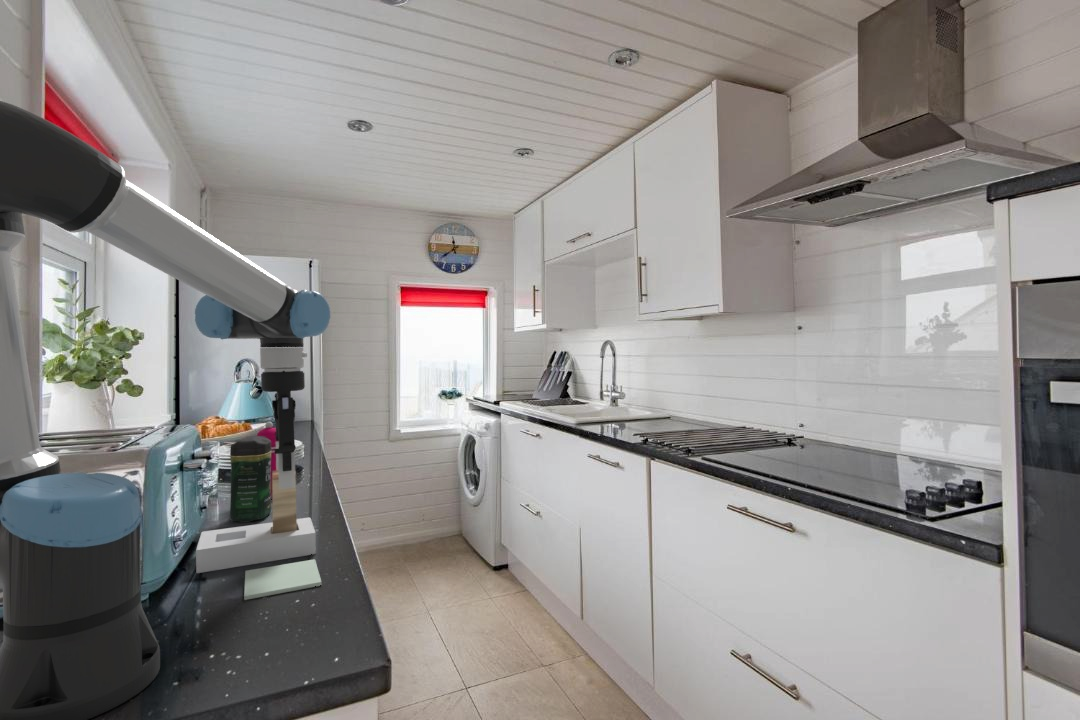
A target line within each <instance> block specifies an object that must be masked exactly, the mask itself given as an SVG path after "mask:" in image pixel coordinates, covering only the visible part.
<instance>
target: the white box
mask: <svg viewBox="0 0 1080 720" xmlns="http://www.w3.org/2000/svg"><path fill="white" fill-rule="evenodd" d="M312 521H313V520H312V519H311V517H303V518H297V531H290V532H283V533H276V534H273V521H272V522H265V523H257V524H251V525H244V526H243V525H242V526H236V527H235V526H234V527H228V528H227V527H226V528H220V529H213V530H204V531H201V533H200V537H199V539H198V543H197V546H196V550H195V557H196V559H195V565H196V568H195V570H196V574H200V573H201V574H202V573H206V572H214V571H220V570H226V569H232V568H236V567H237V568H238V567H244V566H250V565H256V564H262V563H268V562H275V561H280V560H287V559H292V558H299V557H305V556H306V557H307V556H310V555H311V554H312V555H316V554H317V553H316V552H317V550H316V548H317V545H316V539H317V537H316V530H315V527H314V524H313V522H312Z"/></svg>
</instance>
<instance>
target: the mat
mask: <svg viewBox="0 0 1080 720" xmlns="http://www.w3.org/2000/svg"><path fill="white" fill-rule="evenodd" d="M244 571H245V573H244V592H243V593H244V595H243V597H244V598H243V600H244V601H247V600H252V599H257V598H258V599H259V598H262V597H267V596H274V595H280V594H283V593H288V592H289V593H290V592H294V591H300V590H304V589H310V588H316V587H321V586H322V584H323V583H322V578H321V576H320V572H319V568H318V566H317V561H316V559H309V560H303V561H295V562H290V563H283V564H280V565H279V564H278V565H273V566H267V567H261V568H255V569H249V570H244ZM320 585H321V586H320ZM315 586H316V587H315Z"/></svg>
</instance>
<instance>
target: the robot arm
mask: <svg viewBox="0 0 1080 720" xmlns="http://www.w3.org/2000/svg"><path fill="white" fill-rule="evenodd" d="M23 215H27V216H31V217H34V218H38V219H41V220H44V221H47V222H49V223H51V224H53V225H55V226H57V227H59V228H61V229H63V230H65V231H67V232H69V233H80V232H81V233H82V232H88V233H89V234H91V235H93V236H95V237H97V238H98V239H101V240H103V241H104V242H106V243H108V244H110V245H112V246H113V247H116V248H117V249H119V250H121V251H123V252H125V253H127V254H128V255H131V256H132V257H135V258H137V259H138V260H140V261H141V262H143V263H146V264H147V265H150V266H152V267H153V268H154V269H156V270H158V271H160V272H163V273H164V274H167V275H168V276H170V277H172V278H173V279H175V280H178V281H180V282H182V283H183V284H185V285H187V286H189V287H190V288H193V289H195V290H196V291H199V292H200V293H202V294H204V296H202V297H201V298H199V300H198V302H197V303H196V305H195V308H194V322H195V325H196V327H197V329H198V331H199V332H200V334H202V335H203V336H205V337H207V338H210V339H220V340H227V339H228V340H229V339H232V340H236V339H237V340H247V339H251V340H252V339H253V340H256V339H257V340H259V343H260V348H259V350H260V351H259V354H260V356H259V357H260V358H259V359H260V361H259V363H260V368H261V369H262V370H264V371H262V373H260V377H261V378H260V382H261V385H260V386H261V387H260V388H261V390H262V391H263V392H267V393H275V392H276V393H275V394H274V399H273V400H271V408H272V411H273V419H274V422H275V428H276V432H275V435H276V437H275V439H276V441H277V442H276V449H275V454H276V470H279V489H288V488H295V471H296V458H295V457H296V452H295V450H296V444H295V442H296V441H295V426H294V424H295V423H294V422H295V420H296V419H295V418H296V412H295V410H296V405H297V404H296V400H295V399H294V397H291V396H292V395H291V392H297V391H303V390H304V389H305V387H306V386H305V383H306V382H305V372H304V371H303V370H301V369H303V368H305V367H304V366H305V361H304V360H305V359H304V358H307V357H308V353H307V352H305V351H304V339H305V338H309V337H316V336H320V335H321V334H323V333H324V332H325V331H326V330H327V328H328V327H329V324H330V319H331V308H330V304H329V302H328V301H327V299H326V298H325V296H323V294H322V293H320V292H317V291H315V290H314V291H313V290H307V289H303V290H302V289H301V290H300V291H299V290H296V289H294V288H293V287H292V286H289V285H288V284H287V283H285V282H283V281H282V280H280V279H279V278H277V277H276V276H274V275H272V274H271V273H269V272H268V271H266V270H265V269H263V268H262V267H260V266H259V265H257V264H256V263H254V262H253V261H251V260H250V259H248V258H247V257H246V256H243V255H242V254H241V253H239V252H238V251H236V250H235V249H233V248H232V247H230V246H228V245H227V244H225V243H224V242H222V241H220V239H217V238H216V237H214V236H213V235H212V234H210V233H208V232H207V231H206V230H204V229H202V228H201V227H200V226H197V225H196V224H195V223H193V222H192V221H190V220H189V219H187V218H186V217H184V216H183V215H181V214H179V213H178V212H176V211H175V210H173V209H172V208H170V207H169V206H167V205H166V204H164V203H163V202H161V201H160V200H158V199H157V198H155V197H154V196H152V195H151V194H149V193H147V192H146V191H145V190H143V189H142V188H140V187H138V186H136V185H135V184H134V183H132V182H131V181H129V180H128V179H127V177H126V173H125V170H124V167H123V166H122V165H121V164H119V163H118V162H117V161H115V160H113V159H112V158H110V157H109V156H108V155H106V154H104V153H103V152H102V151H100V150H98V149H97V148H95V147H94V146H92V145H91V144H89V143H87V142H86V141H84V140H83V139H81V138H79V137H77V136H76V135H75V134H73V133H71V132H69V131H68V130H66V129H64V128H63V127H60V126H59V125H56V124H55V123H53V122H51V121H49V120H47V119H45V118H43V117H41V116H39V115H38V114H35V113H33V112H31V111H28V110H26V109H23V107H19V106H17V105H14V104H12V103H8V102H6V101H2V100H0V589H1V590H2V613H3V614H2V617H3V634H2V635H3V636H2V637H3V639H2V643H1V645H0V720H89V719H92V718H95V717H96V716H99V715H102V714H104V713H106V712H108V711H111V710H112V709H115V708H117V707H118V706H121V705H122V704H124V703H125V702H128V701H129V700H131V699H132V698H135V696H137V695H138V694H140V693H141V692H142V691H143V690H145V689H146V688H147V687H148V686H149V685H151V684H152V682H153V681H154V680H155V678H156V677H157V676H158V674H159V672H160V668H161V650H160V649H161V648H160V645H159V642H158V639H157V638H156V635H155V633H154V631H153V629H152V627H151V624H150V623H149V620H148V618H147V615H146V614H145V611H144V609H143V606H142V564H141V563H142V562H141V561H142V559H141V558H142V556H141V554H142V553H141V551H142V550H141V548H142V547H141V545H142V544H141V543H142V542H141V536H142V535H141V520H142V518H143V511H142V506H141V499H140V495H139V490H138V487H137V486H136V484H135V483H134V482H133V481H132V480H131V479H129V478H127V477H124V476H121V475H116V474H114V473H113V474H112V473H105V472H94V473H87V472H67V473H62V471H61V464H60V459H59V456H58V455H56V454H54V453H52V452H50V451H48V450H46V449H44V448H43V447H42V445H41V444H40V442H41V441H40V437H39V436H40V435H39V431H38V424H37V417H36V410H35V403H34V399H33V391H32V384H31V379H30V372H29V366H28V364H29V363H28V359H27V353H26V345H25V339H24V333H23V327H22V320H21V314H20V306H19V301H18V295H17V287H16V282H15V281H16V280H15V275H14V268H13V267H14V266H13V261H12V254H11V253H12V250H13V249H14V248H15V247H17V246H18V245H19V244H20V243H22V242H23V241H24V240H25V239H26V232H25V227H24V220H23Z"/></svg>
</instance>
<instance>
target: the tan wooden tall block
mask: <svg viewBox="0 0 1080 720" xmlns="http://www.w3.org/2000/svg"><path fill="white" fill-rule="evenodd" d="M271 505H272V509H271V510H272V522H273V534H276V533H283V532H290V531H297V519H298V517H297V471H296V470H295V488H288V489H279V470H276V471H272V500H271Z"/></svg>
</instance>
